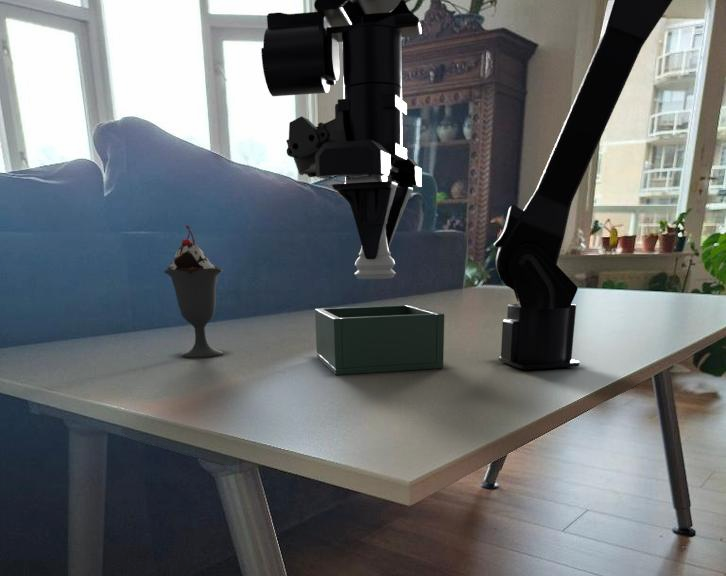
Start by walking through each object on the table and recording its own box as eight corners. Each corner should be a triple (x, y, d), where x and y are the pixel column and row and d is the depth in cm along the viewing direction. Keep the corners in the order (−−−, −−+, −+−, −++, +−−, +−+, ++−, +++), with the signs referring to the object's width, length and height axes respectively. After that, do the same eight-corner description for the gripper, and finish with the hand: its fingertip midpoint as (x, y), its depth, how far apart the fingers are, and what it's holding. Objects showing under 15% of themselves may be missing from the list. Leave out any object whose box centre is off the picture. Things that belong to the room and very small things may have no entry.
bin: (411, 352, 81) (411, 304, 79) (443, 368, 70) (444, 313, 68) (316, 357, 78) (314, 308, 77) (335, 375, 68) (333, 318, 66)
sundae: (206, 348, 87) (194, 225, 82) (240, 353, 83) (229, 223, 78) (163, 355, 82) (147, 225, 77) (197, 360, 78) (182, 223, 73)
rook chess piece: (393, 278, 69) (392, 194, 66) (350, 279, 69) (348, 196, 67) (398, 276, 73) (397, 197, 70) (357, 277, 73) (355, 198, 71)
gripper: (326, 112, 76) (332, 257, 81) (256, 77, 59) (269, 262, 64) (422, 104, 73) (422, 255, 78) (378, 64, 56) (381, 260, 61)
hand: (375, 258), depth 70 cm, fingers closed on rook chess piece, 3 cm apart
